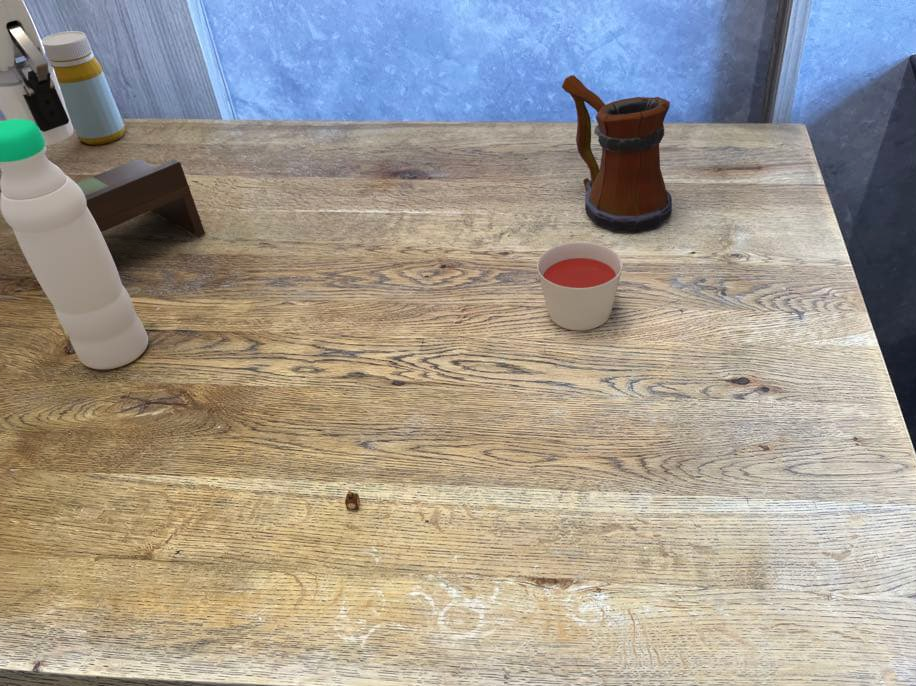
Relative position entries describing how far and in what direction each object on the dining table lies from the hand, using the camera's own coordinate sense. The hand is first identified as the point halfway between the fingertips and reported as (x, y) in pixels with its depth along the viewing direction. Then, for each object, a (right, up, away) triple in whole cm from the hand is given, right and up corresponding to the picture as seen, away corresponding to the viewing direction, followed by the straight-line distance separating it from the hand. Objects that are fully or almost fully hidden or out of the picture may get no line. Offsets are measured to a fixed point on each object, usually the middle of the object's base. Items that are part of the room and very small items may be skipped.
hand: (38, 117), depth 92 cm
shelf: (+3, -12, +13) cm, 18 cm away
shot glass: (0, -2, +2) cm, 2 cm away
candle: (+61, -22, -1) cm, 65 cm away
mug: (+66, -6, +17) cm, 68 cm away
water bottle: (+11, -27, -4) cm, 29 cm away
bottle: (-13, +10, +38) cm, 41 cm away
